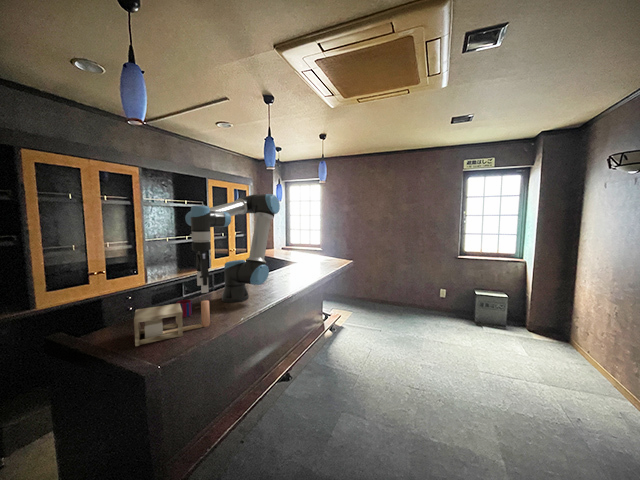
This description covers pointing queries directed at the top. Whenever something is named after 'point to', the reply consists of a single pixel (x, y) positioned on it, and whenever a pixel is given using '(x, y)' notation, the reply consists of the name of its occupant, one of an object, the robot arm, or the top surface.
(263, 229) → the robot arm
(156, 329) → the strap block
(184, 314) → the mug
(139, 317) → the wooden holder
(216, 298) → the top surface
